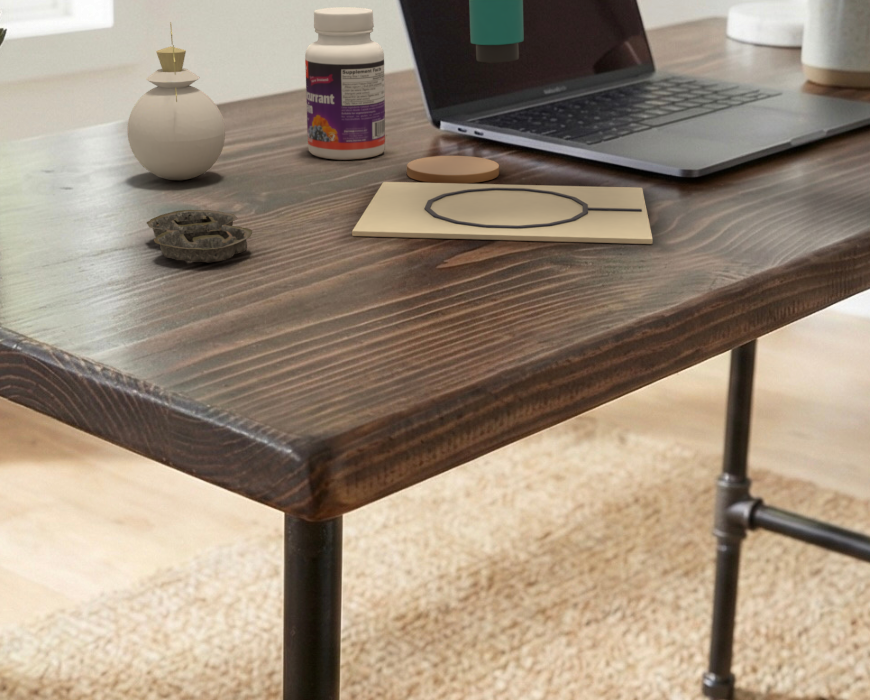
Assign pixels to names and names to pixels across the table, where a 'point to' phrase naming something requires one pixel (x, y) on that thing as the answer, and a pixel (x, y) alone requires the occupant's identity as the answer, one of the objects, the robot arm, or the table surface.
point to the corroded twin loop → (199, 235)
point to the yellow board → (507, 213)
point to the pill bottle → (345, 86)
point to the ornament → (175, 122)
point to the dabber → (496, 29)
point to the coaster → (452, 169)
